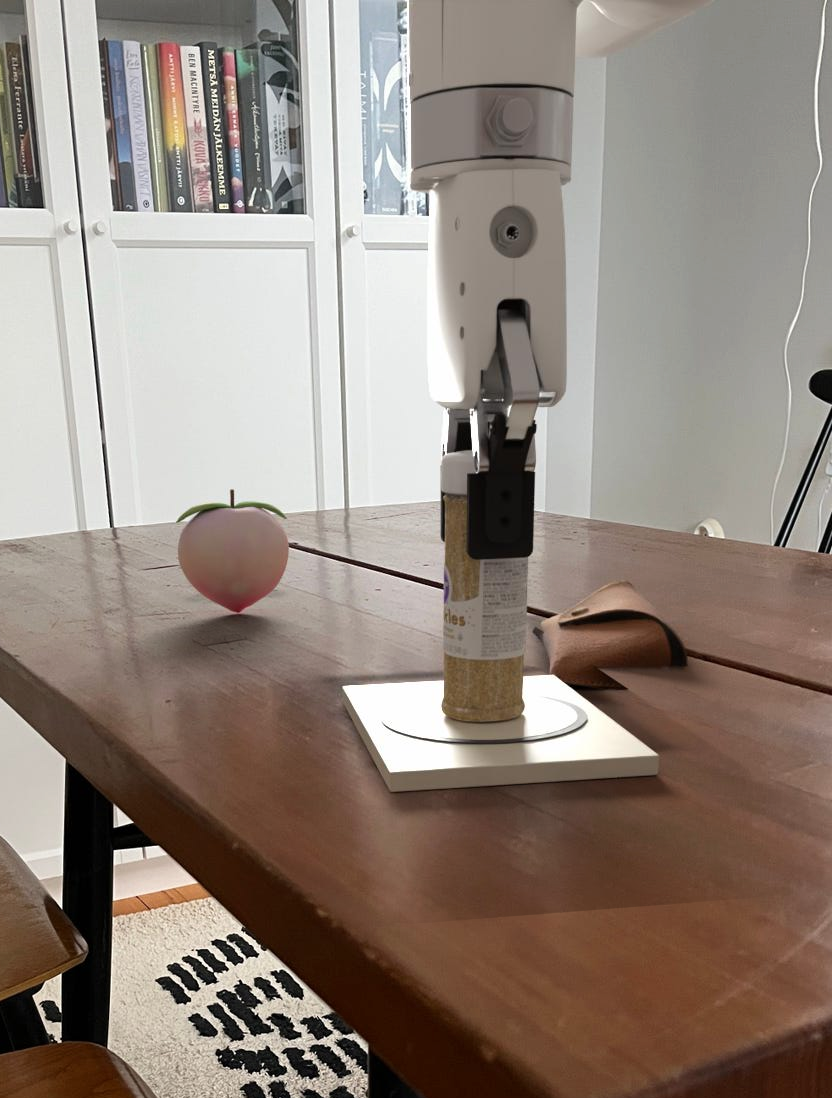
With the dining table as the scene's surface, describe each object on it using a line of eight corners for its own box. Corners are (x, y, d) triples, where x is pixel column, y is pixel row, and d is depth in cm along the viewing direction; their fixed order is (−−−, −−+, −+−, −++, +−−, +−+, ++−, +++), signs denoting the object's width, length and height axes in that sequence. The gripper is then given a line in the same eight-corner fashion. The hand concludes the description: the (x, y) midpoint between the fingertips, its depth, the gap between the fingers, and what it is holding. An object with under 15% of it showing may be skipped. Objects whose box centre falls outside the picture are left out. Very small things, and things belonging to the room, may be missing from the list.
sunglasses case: (524, 627, 93) (573, 547, 91) (604, 673, 94) (655, 596, 92) (548, 682, 77) (609, 586, 74) (645, 738, 78) (708, 645, 75)
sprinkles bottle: (428, 709, 69) (427, 451, 64) (504, 700, 70) (508, 447, 65) (461, 728, 65) (463, 455, 60) (541, 719, 66) (549, 451, 61)
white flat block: (553, 690, 77) (554, 672, 77) (658, 775, 60) (660, 752, 60) (342, 702, 76) (341, 684, 75) (390, 792, 59) (389, 769, 58)
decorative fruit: (213, 627, 100) (205, 496, 97) (168, 613, 107) (159, 490, 103) (314, 613, 105) (309, 488, 101) (265, 601, 111) (259, 483, 108)
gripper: (630, 112, 51) (609, 569, 57) (521, 177, 67) (514, 529, 73) (447, 112, 50) (446, 576, 56) (381, 178, 66) (386, 534, 72)
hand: (484, 546), depth 64 cm, fingers open, 5 cm apart
